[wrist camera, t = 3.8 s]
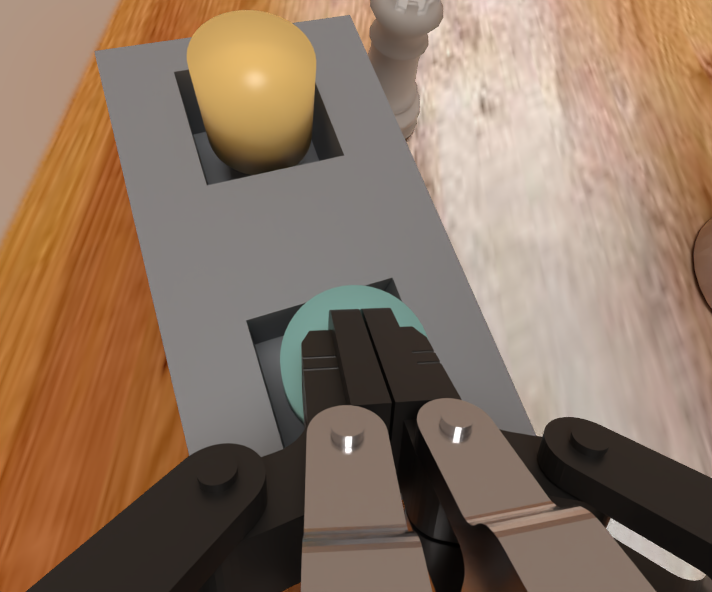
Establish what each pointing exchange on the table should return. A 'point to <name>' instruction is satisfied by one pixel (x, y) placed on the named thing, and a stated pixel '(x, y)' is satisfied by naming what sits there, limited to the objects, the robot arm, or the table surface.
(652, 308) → the table surface
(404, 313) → the teal button
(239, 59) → the amber button
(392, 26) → the rook chess piece
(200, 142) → the console
